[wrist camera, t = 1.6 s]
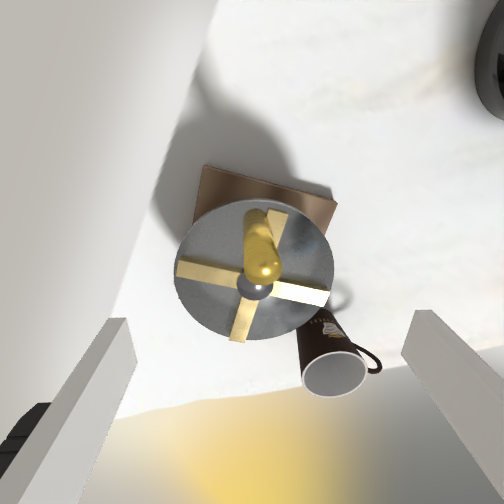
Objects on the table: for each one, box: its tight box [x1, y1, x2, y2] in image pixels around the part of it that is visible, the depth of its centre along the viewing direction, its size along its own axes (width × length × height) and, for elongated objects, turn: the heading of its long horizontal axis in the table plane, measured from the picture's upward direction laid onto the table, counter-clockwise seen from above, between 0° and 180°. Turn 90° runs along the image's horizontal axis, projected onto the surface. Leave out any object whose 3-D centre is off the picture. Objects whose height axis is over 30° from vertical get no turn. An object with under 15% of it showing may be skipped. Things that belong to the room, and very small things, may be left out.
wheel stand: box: [178, 165, 338, 299], centre depth 35 cm, size 17×19×6 cm
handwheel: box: [174, 198, 334, 343], centre depth 26 cm, size 18×18×12 cm
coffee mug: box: [296, 308, 382, 398], centre depth 40 cm, size 12×9×10 cm
